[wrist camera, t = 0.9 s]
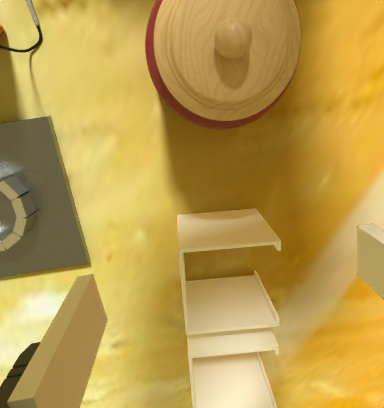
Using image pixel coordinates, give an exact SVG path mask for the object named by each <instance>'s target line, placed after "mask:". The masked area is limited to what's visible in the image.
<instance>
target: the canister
mask: <svg viewBox="0 0 384 408" xmlns="http://www.w3.org/2000/svg"><path fill="white" fill-rule="evenodd" d="M300 46H301V26H300V19H299V14H298V11H297V7H296V5H295V2H294V0H156V2H155V4H154V6H153V8H152V11H151V14H150V17H149V20H148V24H147V29H146V39H145V52H146V60H147V65H148V70H149V73H150V76H151V79H152V81H153V83H154V86H155V88H156V89H157V91H158V93H159V94H160V96H161V97H162V99H163V100H164V101H165V103H166V104H167V105H168V106H169V107H170V108H171V109H172V110H173V111H174V112H175V113H177V114H178V115H179V116H181V117H182V118H184V119H185V120H187V121H189V122H191V123H193V124H196V125H198V126H202V127H205V128H211V129H231V128H236V127H240V126H243V125H246V124H249V123H251V122H253V121H255V120H257V119H258V118H260V117H261V116H263V115H264V114H266V113H267V112H268V111H269V110H270V109H271V108H273V107H274V106H275V104H276V103H277V102H278V101H279V100H280V99H281V97H282V96H283V94H284V93H285V91H286V90H287V88H288V86H289V84H290V82H291V80H292V78H293V76H294V73H295V70H296V66H297V63H298V57H299V53H300Z"/></svg>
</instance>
